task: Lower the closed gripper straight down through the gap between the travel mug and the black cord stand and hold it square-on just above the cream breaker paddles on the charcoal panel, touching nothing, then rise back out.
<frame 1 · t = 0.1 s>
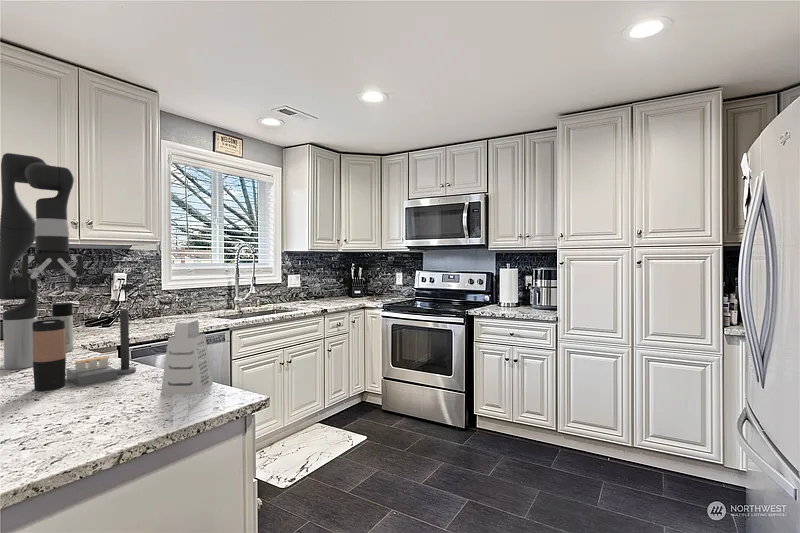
hand: (53, 291, 125), 29 cm above the counter, tool pointing down, fingers open, 8 cm apart
breaker paddles: (92, 363, 137), point 5 cm above the counter, hinge at 15.0°
cord stand: (125, 372, 145), on the counter
spray can: (63, 352, 177), on the counter
travel mug: (50, 388, 129), on the counter
grater: (187, 389, 128), on the counter
breaker panel: (91, 378, 138), on the counter
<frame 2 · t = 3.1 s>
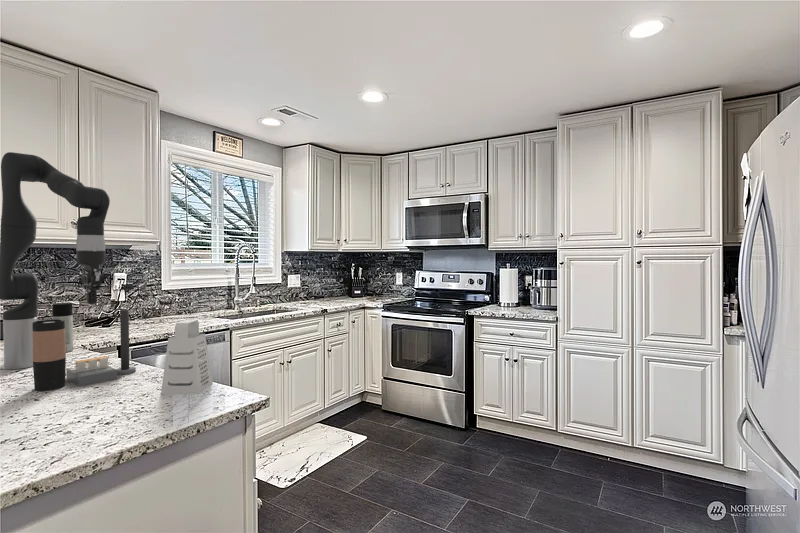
hand: (92, 303, 138), 24 cm above the counter, tool pointing down, fingers closed
nothing on the counter moved.
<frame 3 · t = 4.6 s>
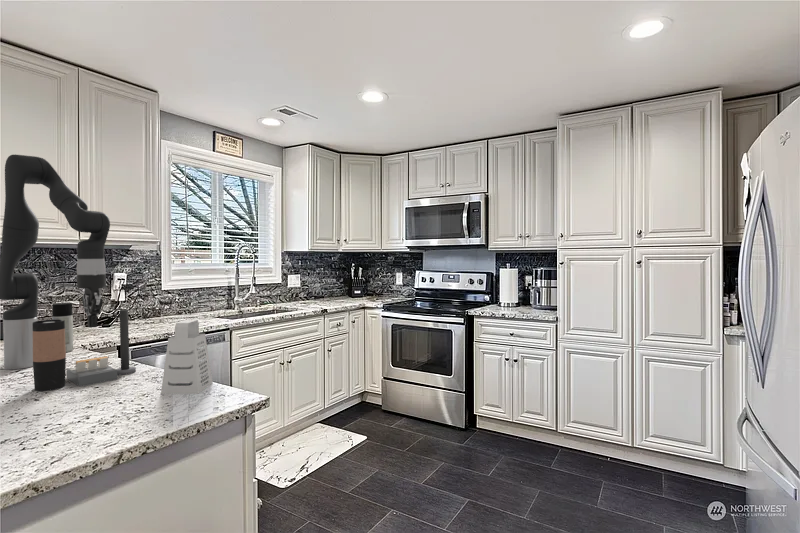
hand: (92, 327, 138), 17 cm above the counter, tool pointing down, fingers closed
nothing on the counter moved.
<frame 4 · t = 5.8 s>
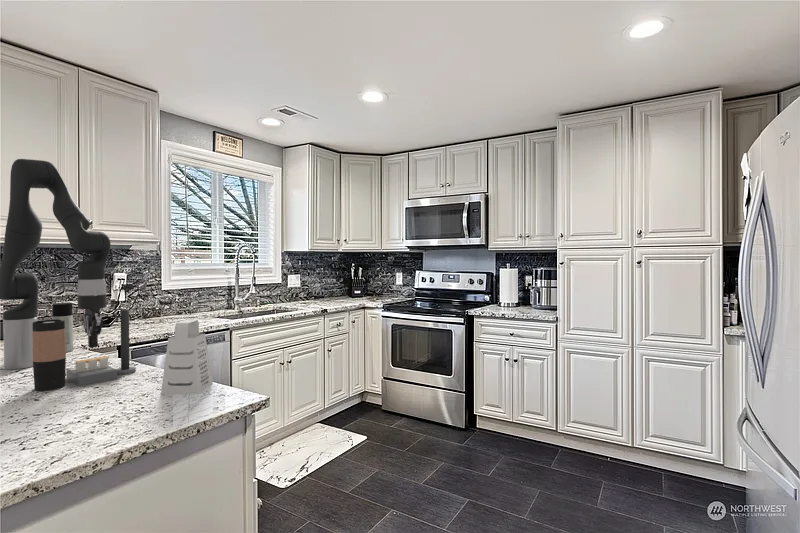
hand: (93, 347, 138), 10 cm above the counter, tool pointing down, fingers closed
nothing on the counter moved.
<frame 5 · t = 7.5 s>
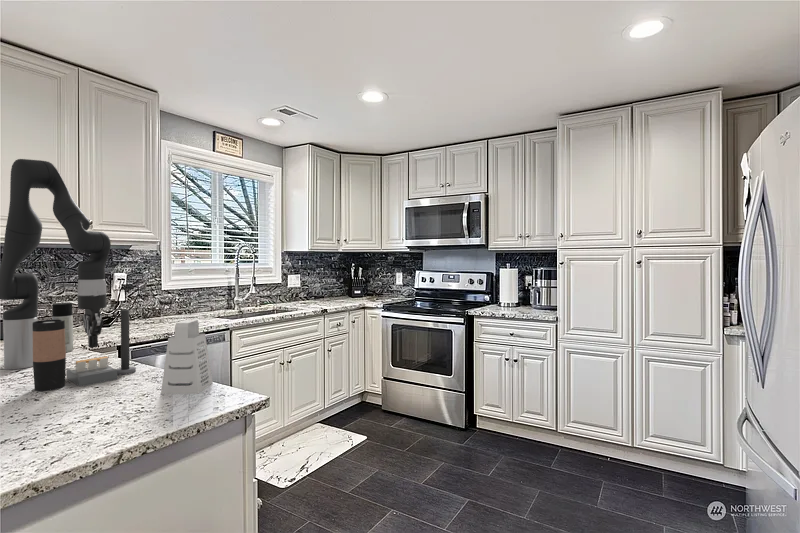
hand: (93, 347, 138), 10 cm above the counter, tool pointing down, fingers closed
nothing on the counter moved.
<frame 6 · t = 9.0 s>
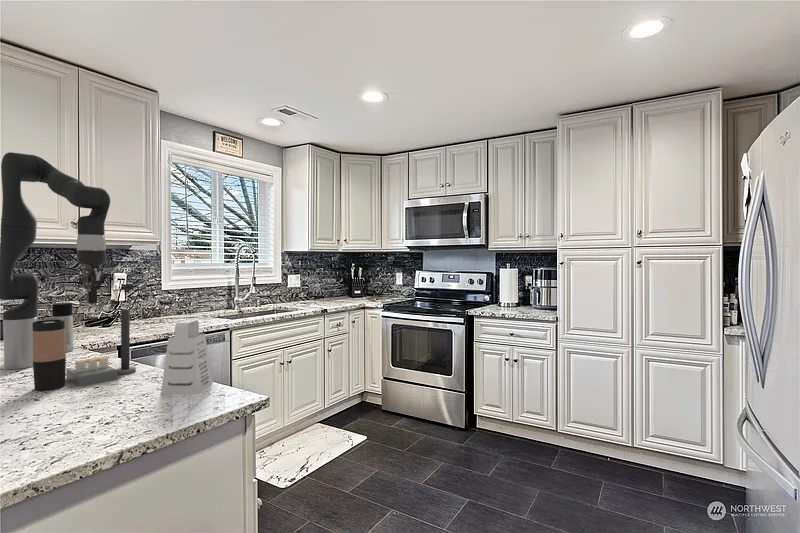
hand: (92, 303, 138), 24 cm above the counter, tool pointing down, fingers closed
nothing on the counter moved.
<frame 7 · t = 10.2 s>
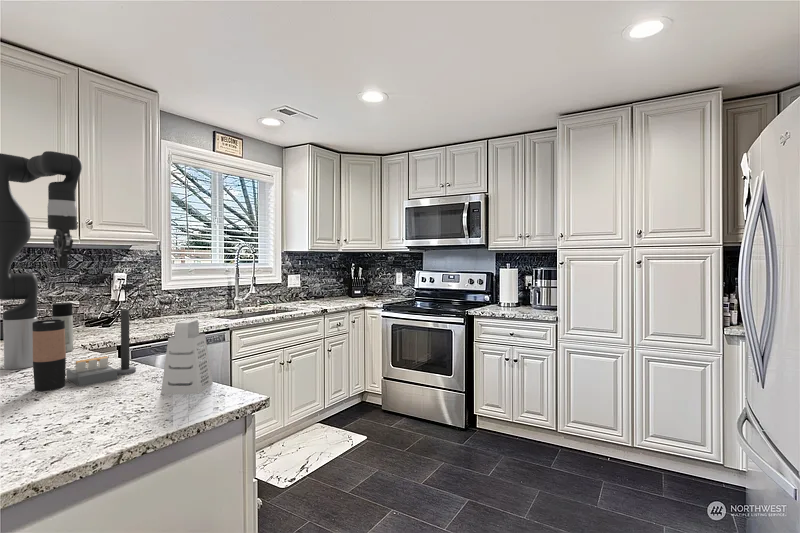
hand: (63, 267, 141), 36 cm above the counter, tool pointing down, fingers closed
nothing on the counter moved.
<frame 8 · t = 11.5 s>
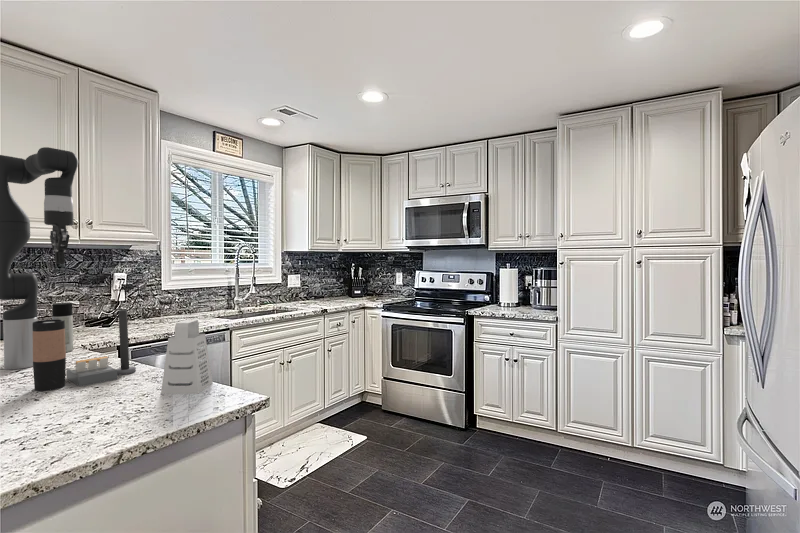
hand: (60, 263, 141), 37 cm above the counter, tool pointing down, fingers closed
nothing on the counter moved.
at the end: breaker paddles at +15° (first picture: +15°); cord stand moved 0.0 cm from its start; travel mug moved 0.2 cm from its start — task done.
